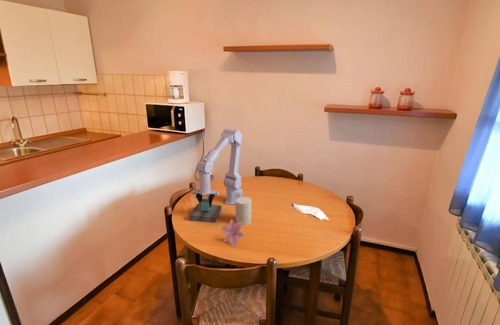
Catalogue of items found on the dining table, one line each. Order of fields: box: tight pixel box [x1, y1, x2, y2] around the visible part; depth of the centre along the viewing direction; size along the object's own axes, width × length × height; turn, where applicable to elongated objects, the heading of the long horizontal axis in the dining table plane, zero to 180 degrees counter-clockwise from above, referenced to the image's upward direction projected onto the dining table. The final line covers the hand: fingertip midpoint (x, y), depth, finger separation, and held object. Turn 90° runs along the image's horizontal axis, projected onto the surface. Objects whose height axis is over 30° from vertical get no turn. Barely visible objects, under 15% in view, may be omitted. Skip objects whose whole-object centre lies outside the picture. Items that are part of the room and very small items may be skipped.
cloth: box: [290, 203, 330, 221], centre depth 157 cm, size 26×14×2 cm, turn 32°
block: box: [200, 198, 211, 211], centre depth 149 cm, size 4×4×5 cm
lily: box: [220, 218, 246, 248], centre depth 127 cm, size 12×12×10 cm
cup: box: [235, 196, 252, 226], centre depth 144 cm, size 8×8×12 cm
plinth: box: [188, 203, 223, 224], centre depth 150 cm, size 14×14×3 cm
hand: (205, 206), depth 149 cm, fingers closed on block, 4 cm apart
